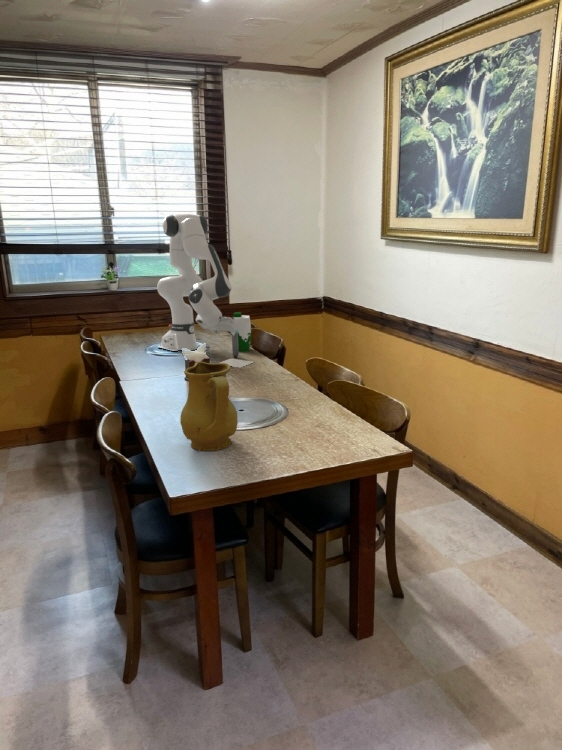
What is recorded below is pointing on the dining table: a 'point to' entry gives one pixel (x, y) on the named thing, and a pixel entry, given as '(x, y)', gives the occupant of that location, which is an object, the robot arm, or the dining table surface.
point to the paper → (237, 362)
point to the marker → (235, 345)
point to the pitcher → (208, 407)
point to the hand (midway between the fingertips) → (225, 333)
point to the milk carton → (243, 331)
